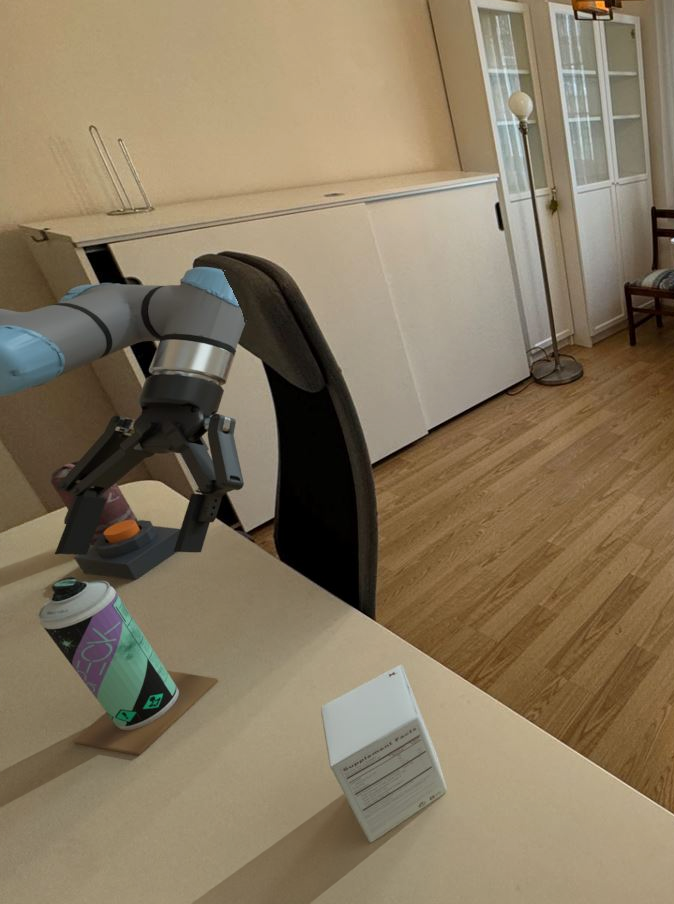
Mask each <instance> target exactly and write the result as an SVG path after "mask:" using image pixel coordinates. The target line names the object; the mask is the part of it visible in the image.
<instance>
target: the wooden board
mask: <svg viewBox="0 0 674 904" xmlns="http://www.w3.org/2000/svg"><path fill="white" fill-rule="evenodd" d="M166 671H167V672H168V674H169V675H170V677H171V679H172V680H173V682H174V683H175V685H176V686H177V689H178V690H179V695H178V698H177V699H176V701H175V703H174V704H173V705H172V706H171V707H170V708H169V709H168V710H167V711H166V712H165V713H164V714H163V715H161V716H160V717H159V718H157V719H155V720H154V721H152V722H150V723H148V724H146V725H144V726H142V727H139V728H136V729H132V730H122V729H120V728H118V727H117V725H116V724H115V723H114V722H113V720H112V719H111V718H110V716H109V715H108V714H107V712H106V711H105V713H103V714H102V715H101V716H100V717H99V718H97V719H96V720H95V721H94V722H93V723H92V724H90V725H89V726H88V727H87V728H86V729H84V731H82V732H81V733H80V734H79V735H78V736H76V737H75V738H74V739H73V740H72V742H73V743H74V744H78V745H83V746H88V747H94V748H98V749H103V750H108V751H114V752H119V753H124V754H130V755H135V756H141V755H142V754H143V753H144V752H145V751H146V750H147V749H149V747H150V746H151V745H152V744H154V743H155V742H156V741H157V740H158V739H159V738H160V737H161V736H163V734H164V733H165V732H166V731H167V730H168V729H169V728H171V727H172V725H174V723H175V722H177V720H179V719H180V718H181V717H182V716H183V715H184V714H185V713H186V712H187V711H188V710H190V709H191V708H192V707H193V705H195V704H196V703H197V702H198V701H199V700H200V699H201V698H202V697H203V696H204V695H205V694H206V693H207V692H209V690H210V689H212V688H213V687H214V686H215V685H216V684H217V683H218V682H219V680H218V678H215V677H210V676H204V675H197V674H191V673H190V674H189V673H185V672H178V671H172V670H167V669H166Z"/></svg>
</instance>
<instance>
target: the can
mask: <svg viewBox="0 0 674 904" xmlns="http://www.w3.org/2000/svg"><path fill="white" fill-rule="evenodd" d="M78 462H79V460H77V461H73V462H70V463H66V464H64V465H63V466H61V467H59V468H57V469H56V470H54V471H53V472H52V473H50V477H51V478H50V483H51V485H52V487H53V489H54V490H55V492H56V493H57V495H58V496H59V498H60V499H61V502H62V503H63V504H64V506H65V507H66V509H67V510H68V509H69V506H70V504H71V501H72V497H73V496H72V495H71V494H70V493H68V492H66V491H61V490H58V484H59V483H60V482H61V481H62V480H63V478H64V477H65V476H66V475H67V474H68V473H69V472H70V471H71V469H72V468H73V467H74V466H75V465H76V464H77V463H78ZM76 482H80V480H77V481H76ZM93 487H95V486H93ZM103 494H104V495H105V496H104V497H106V498H104V499H107V500H106V503H105V506H104V509H103V511H102V514H101V517H100V520H99V522H98V525H97V528H96V531H95V533H94V536H93V539H92V542H91V544H90V545H92V546H94V542H95V541H96V540H97V539H98V538H99V537H100V536H101V535H103V534H104V531H105V530H106V529H107V528H109V527H110V526H112V525H114V524H116V523H119V522H122V521H125V520H134V521H139V520H138V519H137V516H136V515H135V513H134V511H133V509H132V508H131V506H130V504H129V503H128V501H127V499H126V498H125V495H124V494H123V492H122V491H121V488H120V487H119V485H118V484H117V482H116V483H115V484H114V485H113V486H111V487H110V488H109V489H108V490H107V491H106V492H104V493H103Z"/></svg>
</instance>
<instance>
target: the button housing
mask: <svg viewBox="0 0 674 904" xmlns="http://www.w3.org/2000/svg"><path fill="white" fill-rule="evenodd" d="M135 522H136V523H137V525H138V527H139V529H140V531H139V533H137V534H136V535H134V536H132V537H131V538H128V539H126V540H123V541H121V542H116V543H109V542H108V540H107V539H106V537H105V535H104V534H103V535H101V536H100V537H99V538H98V539H97V540H96V541H95V542H94V545H92V546H90V547H89V550H88V552H87V555H76V556H74V557H73V559H74V560H75V562H76V563H77V565H78V567H79V568H80V570H81V571H82V572H83V574H88V575H96V576H103V577H112V578H117V579H118V578H119V579H127V580H133V581H136V580H138V579H140V578H141V577H143V575H145V574H146V573H148V572H149V571H151V570H153V569H154V568H155V567H157V566H158V565H160V564H161V563H163V562H164V561H166V560H167V559H169V558H170V557H172V556H173V555H174V554H175V553H177V552H174V549H175V545H176V542H177V539H178V536H179V533H180V529H181V528H176V527H175V528H174V527H167V526H157V525H153V523H152V521H150V520H144V519H140V520H138V521H135Z"/></svg>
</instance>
